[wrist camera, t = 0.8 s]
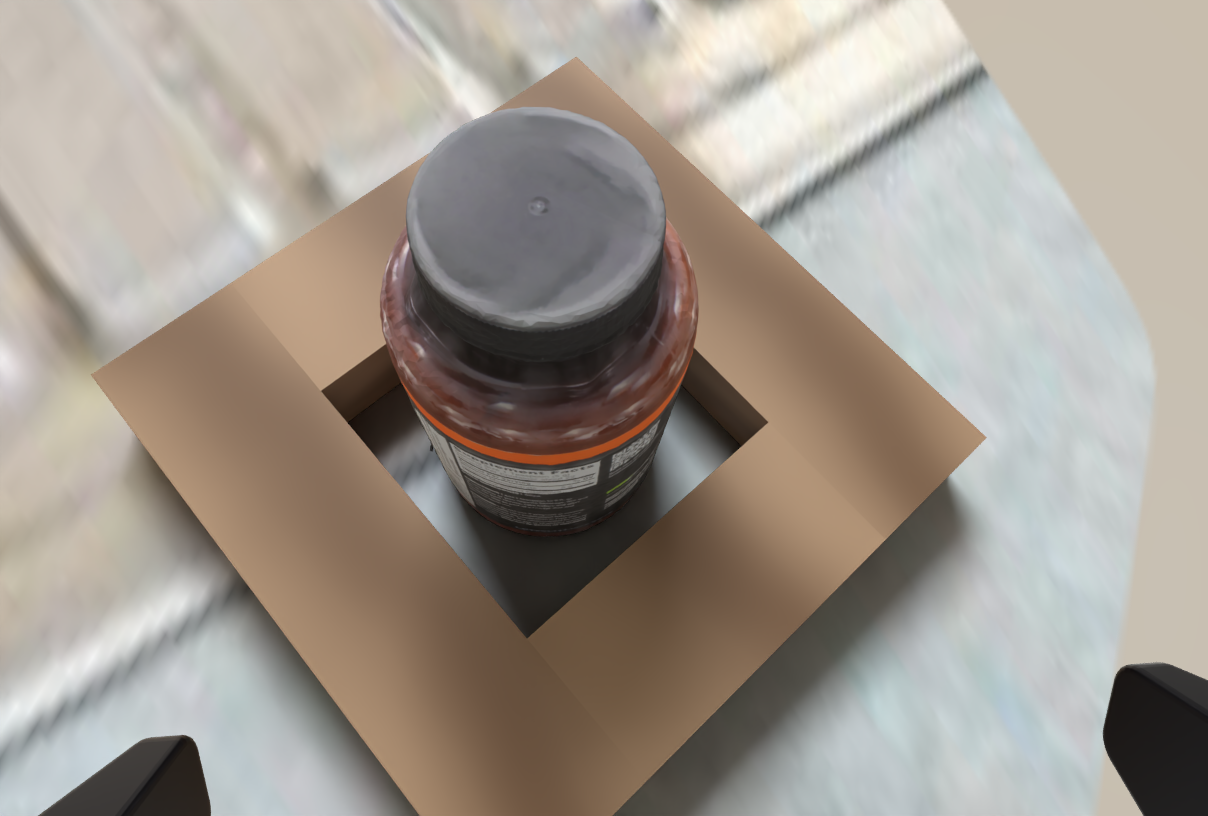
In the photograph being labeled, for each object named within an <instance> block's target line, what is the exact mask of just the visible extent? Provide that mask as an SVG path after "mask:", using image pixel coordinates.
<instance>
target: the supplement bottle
mask: <svg viewBox="0 0 1208 816" xmlns="http://www.w3.org/2000/svg"><path fill="white" fill-rule="evenodd" d="M698 313H699V305H698V289H697V283H696V279H695V274H694V270H693V267H692V263H691V260H690V257H689V255H688V253H687V250H686V248H685V246H684V244H683V242H682V240H681V238H680V236H679V235H678V233H677V232H676V230H675V229H674V227H673V226H672V224H671V223H670V222H669V220H668V219H667V218H666V209H665V203H664V199H663V195H662V192H661V189H660V186H659V183H658V180H657V177H656V175H655V174H654V172H653V170H652V168H651V167H650V166H649V164H648V162H647V161H646V160H645V158H644V157H643V156H642V155H641V153H640V152H639V151H638V150H637V149H636V148H635V147H634V146H633V145H632V144H631V143H630V142H629V141H628V140H627V139H626V138H625V137H623V136H622V135H620V134H619V133H618V132H616V131H615V130H613V129H611V128H610V127H608V126H607V125H605V124H604V123H602V122H599V121H596V120H594V119H592V118H590V117H586V116H583V115H581V114H577V113H573V112H570V111H568V110H559V109H555V108H551V107H521V108H516V109H504V110H500V111H496V112H493V113H490V114H487V115H485V116H482V117H480V118H477V119H475V120H473V121H471V122H468V123H466V124H464V125H462V126H461V127H460V128H459V129H457V130H456V131H454V132H452V133H451V134H450V135H449V136H447V137H446V138H445V139H444V140H442V141H441V142H440V143H439V144H438V145H437V146H436V147H435V148H434V149H433V151H432V152H431V153H430V154H428V156H427V158H426V159H425V161H424V162H423V164H422V165H421V166H420V168H419V170H418V172H417V174H416V177H415V179H414V181H413V184H412V187H411V189H410V192H409V195H408V199H407V208H406V226H405V228H404V229H403V230H402V232H401V234H400V236H399V238H398V239H397V241H396V243H395V246H394V248H393V250H392V252H391V254H390V256H389V258H388V261H387V264H386V267H385V273H384V275H383V279H382V288H381V293H380V318H381V323H382V332H383V335H384V338H385V341H386V345H387V348H388V351H389V354H390V357H391V360H392V363H393V365H394V367H395V369H396V371H397V373H398V375H399V378H400V381H401V383H402V384H403V386H404V388H405V390H406V392H407V395H408V397H409V399H410V401H411V404H412V407H413V409H414V410H415V412H416V414H417V416H418V418H419V421H420V423H421V425H422V427H423V428H424V430H425V431H426V433H427V435H428V437H429V439H430V441H431V447H430V451H433V447H434V448H435V451H436V454H437V455H438V456H439V459H440V460H441V463H442V465H443V467H444V469H445V471H446V472H447V474H448V476H449V478H450V480H451V481H452V482H453V484H454V485H455V487H456V488H457V489H458V491H459V493H460V494H461V496H462V497H463V498H464V499H465V500H466V501H467V502H468V503H469V505H470V506H472V507H473V508H474V509H475V510H476V511H477V512H478V513H479V514H480V515H482V516H484V517H485V518H486V519H488V520H489V521H491V522H493V523H494V524H496V525H498V526H500V527H502V528H505V529H508V530H511V531H514V532H517V533H520V534H526V535H531V536H540V537H545V536H561V535H569V534H573V533H577V532H581V531H584V530H586V529H588V528H590V527H592V526H594V525H597V524H599V523H601V522H603V521H604V520H606V519H607V518H609V517H611V516H612V515H613V514H614V513H615V512H616V511H618V510H619V509H621V508H622V507H623V506H624V505H625V504H626V503H627V502H628V500H629V499H630V498H631V497H632V495H633V494H634V492H635V491H636V490H637V489H638V487H639V486H640V484H641V483H642V481H643V480H644V478H645V477H646V475H647V473H648V470H649V468H650V466H651V463H652V460H653V458H654V455H655V453H656V450H657V448H658V445H659V443H660V440H661V437H662V435H663V432H664V429H665V427H666V424H667V422H668V419H669V416H670V414H671V410H672V408H673V406H674V402H675V400H676V397H677V394H678V392H679V389H680V386H681V383H682V381H683V378H684V376H685V373H686V371H687V367H688V364H689V361H690V359H691V356H692V353H693V348H694V343H695V339H696V333H697V324H698Z"/></svg>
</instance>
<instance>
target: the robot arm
mask: <svg viewBox="0 0 1208 816" xmlns="http://www.w3.org/2000/svg"><path fill="white" fill-rule="evenodd" d="M1103 740H1104V745H1105V748H1106V751H1107V754H1108V756H1109V758H1110V760H1111V762H1112V763H1113V765H1114V767H1115V768H1116V770H1117V772H1118V774H1119V775H1120V777H1121V778H1122V780H1123V782H1124V784H1125V785H1126V787H1127V789H1128V790H1129V792H1130V794H1131V796H1132V797H1133V799H1134V801H1135V802H1136V804H1137V806H1138V807H1139V809H1140V811H1141V812H1142V814H1143V816H1208V680H1206V679H1203V678H1201V677H1199V676H1196V675H1194V674H1192V673H1189V672H1187V671H1184V670H1182V669H1180V668H1177V667H1175V666H1173V665H1170V664H1166V663H1145V664H1144V663H1143V664H1131V665H1126V666H1124V667H1122V668H1121V669H1120V670H1119V671H1118V672H1117V674H1116V676H1115V679H1114V683H1113V688H1112V692H1111V697H1110V701H1109V705H1108V710H1107V714H1106V718H1105V723H1104V727H1103ZM38 816H211V806H210V800H209V795H208V791H207V787H206V782H205V778H204V774H203V769H202V765H201V761H200V756H199V752H198V748H197V746H196V743H195V742H194V740H193V739H192V738H191V737H189V736H186V735H178V736H164V737H151V738H147V739H143V740H141V741H140V742H138V743H136V744H135V745H133V746H132V747H131V748H129V749H128V750H127V751H125V752H124V753H123V754H121V755H120V756H119V757H117V758H116V759H114V760H113V761H112V762H110V763H109V764H108V765H106V766H105V767H104V768H102V769H101V770H100V771H98V772H97V773H95V774H94V775H93V776H91V777H90V778H89V779H87V780H86V781H85V782H83V783H82V784H81V785H79V786H78V787H76V788H75V789H74V790H72V791H71V792H70V793H68V794H67V795H66V796H64V797H63V798H61V799H60V800H59V801H57V802H56V803H55V804H53V805H52V806H51V807H49V808H48V809H47V810H45V811H44V812H42V813H41V814H40V815H38Z"/></svg>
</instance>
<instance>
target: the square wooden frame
mask: <svg viewBox="0 0 1208 816" xmlns="http://www.w3.org/2000/svg"><path fill="white" fill-rule="evenodd" d="M521 107H551V108H555V109H559V110H568V111H570V112H573V113H577V114H581V115H583V116H586V117H590V118H592V119H594V120H596V121H599V122H602V123H604V124H605V125H607V126H608V127H610V128H611V129H613V130H615V131H616V132H618V133H619V134H620V135H622V136H623V137H625V138H626V139H627V140H628V141H629V142H630V143H631V144H632V145H633V146H634V147H635V148H636V149H637V150H638V151H639V152H640V153H641V155H642V156H643V157H644V158H645V160H646V161H647V162H648V164H649V166H650V167H651V168H652V170H653V172H654V174H655V175H656V177H657V180H658V183H659V186H660V189H661V192H662V195H663V199H664V203H665V209H666V218H667V219H668V220H669V222H670V223H671V224H672V226H673V227H674V229H675V230H676V232H677V233H678V235H679V236H680V238H681V240H682V242H683V244H684V246H685V248H686V250H687V253H688V255H689V257H690V260H691V263H692V267H693V270H694V274H695V279H696V283H697V289H698V305H699V313H698V324H697V333H696V339H695V343H694V348H693V353H692V356H691V359H690V361H689V364H688V367H687V371H686V373H685V376H684V378H683V381H682V383H681V385H682V386H683V387H684V388H685V389H686V390H687V391H688V392H689V393H690V394H691V395H692V396H693V397H694V398H695V399H696V400H697V401H698V402H699V403H700V404H701V405H702V406H703V407H704V408H705V409H706V410H707V411H708V412H709V413H710V414H711V415H712V416H713V417H714V418H715V419H716V420H717V421H718V423H719V424H720V425H721V426H722V427H723V428H724V429H725V430H726V431H727V432H728V433H729V434H730V435H731V436H732V437H733V438H734V439H735V440H736V441H737V442H738V443H739V444H740V445H741V446H742V447H740V448H739V449H738V450H737V451H736V452H735V453H734V454H733V455H732V456H730V457H729V458H728V459H727V460H726V461H725V462H724V463H723V464H721V465H720V466H719V467H718V468H717V469H716V470H715V471H714V472H713V473H711V474H710V475H709V476H708V477H707V478H706V479H705V480H704V481H702V482H701V483H700V484H699V485H698V486H697V487H696V488H695V489H694V490H692V491H691V492H690V493H689V494H688V495H687V496H686V497H685V498H683V499H682V500H681V501H680V502H679V503H678V504H677V505H676V506H675V507H673V508H672V509H671V510H670V511H669V512H668V513H667V514H666V515H665V516H663V517H662V518H661V519H660V520H659V521H658V522H657V523H656V524H654V525H653V526H652V527H651V528H650V529H649V530H648V531H647V532H646V533H644V534H643V535H642V536H641V537H640V538H639V539H638V540H637V541H635V542H634V543H633V544H632V545H631V546H630V547H629V548H628V549H627V550H625V551H624V552H623V553H622V554H621V555H620V556H619V557H618V558H616V559H615V560H614V561H613V562H612V563H611V564H610V565H609V566H608V567H606V568H605V569H604V570H603V571H602V572H601V573H600V574H599V575H598V576H596V577H595V578H594V579H593V580H592V581H591V582H590V583H589V584H587V585H586V586H585V587H584V588H583V589H582V590H581V591H580V592H579V593H577V594H576V595H575V596H574V597H573V598H572V599H571V600H570V601H568V602H567V603H566V604H565V605H564V606H563V607H562V608H561V609H560V610H558V611H557V612H556V613H555V614H554V615H553V616H552V617H551V618H549V619H548V620H547V621H546V622H545V623H544V624H543V625H542V626H541V627H539V628H538V629H537V630H536V631H535V632H534V633H533V634H532V635H531V636H529V637H528V638H526V637H525V636H524V634H523V633H522V632H521V631H520V630H519V628H518V627H517V626H516V625H515V624H514V622H513V621H512V620H511V619H510V618H509V616H508V615H507V614H506V613H505V612H504V610H503V609H502V608H501V607H500V606H499V604H498V603H497V602H496V601H495V600H494V598H493V597H492V596H491V595H490V594H489V592H488V591H487V590H486V589H485V588H484V586H483V585H482V584H481V583H480V582H479V580H478V579H477V578H476V577H475V576H474V574H473V573H472V572H471V571H470V570H469V568H468V567H467V566H466V565H465V563H464V562H463V561H462V560H461V559H460V557H459V556H458V555H457V554H456V553H455V551H454V550H453V549H452V548H451V547H450V545H449V544H448V543H447V542H446V541H445V539H444V538H443V537H442V536H441V535H440V533H439V532H438V531H437V530H436V529H435V527H434V526H433V525H432V524H431V523H430V521H429V520H428V519H427V518H426V517H425V515H424V514H423V513H422V512H421V511H420V509H419V508H418V507H417V506H416V505H415V503H414V502H413V501H412V500H411V499H410V497H409V496H408V495H407V494H406V493H405V491H404V490H403V489H402V488H401V487H400V485H399V484H398V483H397V482H396V481H395V479H394V478H393V477H392V476H391V475H390V473H389V472H388V471H387V470H386V469H385V467H384V466H383V465H382V464H381V463H380V461H379V460H378V459H377V458H376V457H375V455H374V454H373V453H372V452H371V451H370V449H369V448H368V447H367V446H366V445H365V443H364V442H363V441H362V440H361V439H360V437H359V436H358V435H357V434H356V433H355V431H354V430H353V429H352V428H351V427H350V425H349V424H348V423H347V422H349V421H350V420H351V419H353V418H354V417H355V416H357V415H358V414H359V413H361V412H362V411H363V410H365V409H366V408H367V407H369V406H370V405H372V404H373V403H374V402H376V401H377V400H378V399H380V398H381V397H382V396H384V395H385V394H386V393H388V392H389V391H390V390H392V389H393V388H394V387H396V386H397V385H398V384H400V383H401V381H400V378H399V375H398V373H397V371H396V369H395V367H394V365H393V363H392V360H391V357H390V354H389V351H388V348H387V345H386V341H385V338H384V335H383V332H382V323H381V318H380V293H381V288H382V279H383V275H384V273H385V267H386V264H387V261H388V258H389V256H390V254H391V252H392V250H393V248H394V246H395V243H396V241H397V239H398V238H399V236H400V234H401V232H402V230H403V229H404V228H405V226H406V208H407V199H408V195H409V192H410V189H411V187H412V184H413V181H414V179H415V177H416V174H417V172H418V170H419V168H420V166H421V165H422V164H423V162H424V161H425V159H426V158H427V156H428V154H427V155H426V156H424V157H423V158H421V159H419V160H418V161H416V162H415V163H413V164H412V165H410V166H409V167H407V168H406V169H404V170H403V171H401V172H400V173H398V174H397V175H395V176H394V177H392V178H390V179H389V180H387V181H386V182H384V183H383V184H381V185H380V186H378V187H377V188H375V189H374V190H372V191H371V192H369V193H368V194H366V195H365V196H363V197H361V198H360V199H358V200H357V201H355V202H354V203H352V204H351V205H349V206H348V207H346V208H345V209H343V210H342V211H340V212H339V213H337V214H336V215H334V216H332V217H331V218H329V219H328V220H326V221H325V222H323V223H322V224H320V225H319V226H317V227H316V228H314V229H313V230H311V231H310V232H308V233H307V234H305V235H303V236H302V237H300V238H299V239H297V240H296V241H294V242H293V243H291V244H290V245H288V246H287V247H285V248H284V249H282V250H281V251H279V252H278V253H276V254H274V255H273V256H271V257H270V258H268V259H267V260H265V261H264V262H262V263H261V264H259V265H258V266H256V267H255V268H253V269H252V270H250V271H249V272H247V273H245V274H244V275H242V276H241V277H239V278H238V279H236V280H235V281H233V282H232V283H230V284H229V285H227V286H226V287H224V288H223V289H221V290H220V291H218V292H216V293H215V294H213V295H212V296H210V297H209V298H207V299H206V300H204V301H203V302H201V303H200V304H198V305H197V306H195V307H194V308H192V309H191V310H189V311H187V312H186V313H184V314H183V315H181V316H180V317H178V318H177V319H175V320H174V321H172V322H171V323H169V324H168V325H166V326H165V327H163V328H162V329H160V330H158V331H157V332H155V333H154V334H152V335H151V336H149V337H148V338H146V339H145V340H143V341H142V342H140V343H139V344H137V345H136V346H134V347H133V348H131V349H129V350H128V351H126V352H125V353H123V354H122V355H120V356H119V357H117V358H116V359H114V360H113V361H111V362H110V363H108V364H107V365H105V366H104V367H102V368H100V369H99V370H97V371H96V372H94V373H93V374H91V376H92V377H93V378H94V380H95V381H96V382H97V384H98V385H99V386H100V388H101V389H102V391H103V392H104V393H105V395H106V396H107V397H108V399H109V400H110V401H111V403H112V404H113V405H114V407H115V408H116V409H117V411H118V412H119V413H120V415H121V416H122V417H123V419H124V420H125V421H126V423H127V424H128V425H129V427H130V428H131V429H132V431H133V432H134V433H135V435H136V436H137V437H138V439H139V440H140V441H141V443H142V444H143V445H144V447H145V448H146V449H147V451H148V452H149V453H150V455H151V456H152V458H153V459H154V460H155V462H156V463H157V464H158V466H159V467H160V468H161V470H162V471H163V472H164V474H165V475H166V476H167V478H168V479H169V480H170V482H171V483H172V484H173V486H174V487H175V488H176V490H177V491H178V492H179V494H180V495H181V496H182V498H183V499H184V500H185V502H186V503H187V504H188V506H189V507H190V508H191V510H192V511H193V512H194V514H195V515H196V516H197V518H198V519H199V520H200V522H201V523H202V525H203V526H204V527H205V529H206V530H207V531H208V533H209V534H210V535H211V537H212V538H213V539H214V541H215V542H216V543H217V545H218V546H219V547H220V549H221V550H222V551H223V553H224V554H225V555H226V557H227V558H228V559H229V561H230V562H231V563H232V565H233V566H234V567H235V569H236V570H237V571H238V573H239V574H240V575H241V577H242V578H243V579H244V581H245V582H246V583H247V585H248V586H249V588H250V589H251V590H252V592H253V593H254V594H255V596H256V597H257V598H258V600H259V601H260V602H261V604H262V605H263V606H264V608H265V609H266V610H267V612H268V613H269V614H270V616H271V617H272V618H273V620H274V621H275V622H276V624H277V625H278V626H279V628H280V629H281V630H282V632H283V633H284V634H285V636H286V637H287V638H288V640H289V641H290V642H291V644H292V645H293V646H294V648H295V649H296V650H297V652H298V653H299V655H300V656H301V657H302V659H303V660H304V661H305V663H306V664H307V665H308V667H309V668H310V669H311V671H312V672H313V673H314V675H315V676H316V677H317V679H318V680H319V681H320V683H321V684H322V685H323V687H324V688H325V689H326V691H327V692H328V693H329V695H330V696H331V697H332V699H333V700H334V701H335V703H336V704H337V705H338V707H339V708H340V709H341V711H342V712H343V713H344V715H345V716H346V718H347V719H348V720H349V722H350V723H351V724H352V726H353V727H354V728H355V730H356V731H357V732H358V734H359V735H360V736H361V738H362V739H363V740H364V742H365V743H366V744H367V746H368V747H369V748H370V750H371V751H372V752H373V754H374V755H375V756H376V758H377V759H378V760H379V762H380V763H381V764H382V766H383V767H384V768H385V770H386V771H387V772H388V774H389V775H390V776H391V778H392V779H393V780H394V782H395V783H396V785H397V786H398V787H399V789H400V790H401V791H402V793H403V794H404V795H405V797H406V798H407V799H408V801H409V802H410V803H411V805H412V806H413V807H414V809H415V810H416V811H417V813H418V814H419V815H420V816H613V815H614V814H615V813H616V812H617V811H618V810H619V809H620V808H621V807H622V806H623V805H624V804H625V803H626V802H627V801H628V799H629V798H630V797H631V796H632V795H633V794H634V793H635V792H636V791H637V790H638V789H639V788H640V787H641V786H642V785H643V784H644V783H645V782H646V781H647V780H648V779H649V778H650V777H651V776H652V775H653V774H654V773H655V772H656V771H657V770H658V769H659V768H660V767H661V766H662V765H663V764H664V763H665V762H666V761H667V760H668V759H669V758H670V757H671V756H672V755H673V754H674V753H675V752H676V751H677V750H678V749H679V748H680V747H681V746H682V745H683V744H684V743H685V742H686V741H687V740H688V739H689V738H690V737H691V736H692V735H693V734H694V733H695V732H696V731H697V730H698V729H699V728H700V727H701V726H702V725H703V724H704V723H705V722H706V721H707V720H708V719H709V718H710V717H711V716H712V715H713V714H714V713H715V712H716V711H717V710H718V709H719V708H720V707H721V706H722V704H723V703H724V702H725V701H726V700H727V699H728V698H729V697H730V696H731V695H732V694H733V693H734V692H735V691H736V690H737V689H738V688H739V687H740V686H741V685H742V684H743V683H744V682H745V681H746V680H747V679H748V678H749V677H750V676H751V675H752V674H753V673H754V672H755V671H756V670H757V669H758V668H759V667H760V666H761V665H762V664H763V663H764V662H765V661H766V660H767V659H768V658H769V657H770V656H771V655H772V654H773V653H774V652H775V651H776V650H777V649H778V648H779V647H780V646H781V645H782V644H783V643H784V642H785V641H786V640H787V639H788V638H789V637H790V636H791V635H792V634H793V633H794V632H795V631H796V630H797V629H798V628H799V627H800V626H801V625H802V624H803V623H804V622H805V621H806V620H807V619H808V618H809V617H810V616H811V615H812V614H813V613H814V612H815V611H816V609H817V608H818V607H819V606H820V605H821V604H822V603H823V602H824V601H825V600H826V599H827V598H828V597H829V596H830V595H831V594H832V593H833V592H834V591H835V590H836V589H837V588H838V587H839V586H840V585H841V584H842V583H843V582H844V581H845V580H846V579H847V578H848V577H849V576H850V575H851V574H852V573H853V572H854V571H855V570H856V569H857V568H858V567H859V566H860V565H861V564H862V563H863V562H864V561H865V560H866V559H867V558H868V557H869V556H870V555H871V554H872V553H873V552H874V551H875V550H876V549H877V548H878V547H879V546H880V545H881V544H882V543H883V542H884V541H885V540H886V539H887V538H888V537H889V536H890V535H891V534H892V533H893V532H894V531H895V530H896V529H897V528H898V527H899V526H900V525H901V524H902V523H903V522H904V521H905V520H906V519H907V518H908V517H909V516H910V514H911V513H912V512H913V511H914V510H915V509H916V508H917V507H918V506H919V505H920V504H921V503H922V502H923V501H924V500H925V499H926V498H927V497H928V496H929V495H930V494H931V493H932V492H933V491H934V490H935V489H936V488H937V487H938V486H939V485H940V484H941V483H942V482H943V481H944V480H945V479H946V478H947V477H948V476H949V475H950V474H951V473H952V472H953V471H954V470H955V469H956V468H957V467H958V466H959V465H960V464H961V463H962V462H963V461H964V460H965V459H966V458H967V457H968V456H969V455H970V454H971V453H972V452H973V451H974V450H975V449H976V448H977V447H978V446H979V445H980V444H981V443H982V442H983V441H984V440H985V439H986V438H987V437H985V436H984V435H983V434H982V433H981V432H980V431H979V430H978V429H977V428H976V427H975V426H974V425H973V424H971V423H970V422H969V421H968V420H967V419H966V418H965V417H964V416H963V415H962V414H961V413H960V412H959V411H957V410H956V409H955V408H954V407H953V406H952V405H951V404H950V403H949V402H948V401H947V400H946V399H945V398H943V397H942V396H941V395H940V394H939V393H938V392H937V391H936V390H935V389H934V388H933V387H932V386H931V385H929V384H928V383H927V382H926V381H925V380H924V379H923V378H922V377H921V376H920V375H919V374H918V373H917V372H915V371H914V370H913V369H912V368H911V367H910V366H909V365H908V364H907V363H906V362H905V361H904V360H903V359H901V358H900V357H899V356H898V355H897V354H896V353H895V352H894V351H893V350H892V349H891V348H890V347H889V346H887V345H886V344H885V343H884V342H883V341H882V340H881V339H880V338H879V337H878V336H877V335H876V334H875V333H873V332H872V331H871V330H870V329H869V328H868V327H867V326H866V325H865V324H864V323H863V322H862V321H861V320H859V319H858V318H857V317H856V316H855V315H854V314H853V313H852V312H851V311H850V310H849V309H848V308H847V307H845V306H844V305H843V304H842V303H841V302H840V301H839V300H838V299H837V298H836V297H835V296H834V295H833V294H831V293H830V292H829V291H828V290H827V289H826V288H825V287H824V286H823V285H822V284H821V283H820V282H819V281H817V280H816V279H815V278H814V277H813V276H812V275H811V274H810V273H809V272H808V271H807V270H806V269H805V268H803V267H802V266H801V265H800V264H799V263H798V262H797V261H796V260H795V259H794V258H793V257H792V256H791V255H789V254H788V253H787V252H786V251H785V250H784V249H783V248H782V247H781V246H780V245H779V244H778V243H777V242H775V241H774V240H773V239H772V238H771V237H770V236H769V235H768V234H767V233H766V232H765V231H764V230H763V229H761V228H760V227H759V226H758V225H757V224H756V223H755V222H754V221H753V220H752V219H751V218H750V217H749V216H747V215H746V214H745V213H744V212H743V211H742V210H741V209H740V208H739V207H738V206H737V205H736V204H734V203H733V202H732V201H731V200H730V199H729V198H728V197H727V196H726V195H725V194H724V193H723V192H722V191H720V190H719V189H718V188H717V187H716V186H715V185H714V184H713V183H712V182H711V181H710V180H709V179H708V178H706V177H705V176H704V175H703V174H702V173H701V172H700V171H699V170H698V169H697V168H696V167H695V166H694V165H692V164H691V163H690V162H689V161H688V160H687V159H686V158H685V157H684V156H683V155H682V154H681V153H680V152H678V151H677V150H676V149H675V148H674V147H673V146H672V145H671V144H670V143H669V142H668V141H667V140H666V139H664V138H663V137H662V136H661V135H660V134H659V133H658V132H657V131H656V130H655V129H654V128H653V127H652V126H650V125H649V124H648V123H647V122H646V121H645V120H644V119H643V118H642V117H641V116H640V115H639V114H638V113H636V112H635V111H634V110H633V109H632V108H631V107H630V106H629V105H628V104H627V103H626V102H625V101H624V100H622V99H621V98H620V97H619V96H618V95H617V94H616V93H615V92H614V91H613V90H612V89H611V88H610V87H608V86H607V85H606V84H605V83H604V82H603V81H602V80H601V79H600V78H599V77H598V76H597V75H596V74H594V73H593V72H592V71H591V70H590V69H589V68H588V67H587V66H586V65H585V64H584V63H583V62H582V61H580V60H579V59H578V58H577V57H575V58H574V59H572V60H571V61H569V62H568V63H566V64H564V65H563V66H561V67H560V68H558V69H557V70H555V71H554V72H552V73H551V74H549V75H548V76H546V77H545V78H543V79H542V80H540V81H539V82H537V83H535V84H534V85H532V86H531V87H529V88H528V89H526V90H525V91H523V92H522V93H520V94H519V95H517V96H516V97H514V98H513V99H511V100H510V101H508V102H506V103H505V104H503V105H502V106H500V107H499V108H497V109H496V110H494V111H493V112H496V111H500V110H504V109H516V108H521ZM493 112H491V113H493ZM430 153H431V152H430ZM430 153H429V154H430Z"/></svg>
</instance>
